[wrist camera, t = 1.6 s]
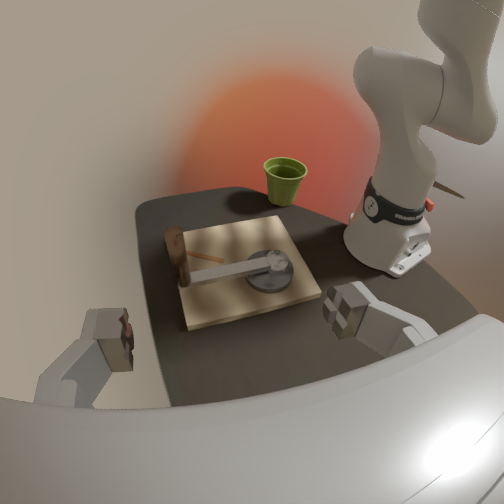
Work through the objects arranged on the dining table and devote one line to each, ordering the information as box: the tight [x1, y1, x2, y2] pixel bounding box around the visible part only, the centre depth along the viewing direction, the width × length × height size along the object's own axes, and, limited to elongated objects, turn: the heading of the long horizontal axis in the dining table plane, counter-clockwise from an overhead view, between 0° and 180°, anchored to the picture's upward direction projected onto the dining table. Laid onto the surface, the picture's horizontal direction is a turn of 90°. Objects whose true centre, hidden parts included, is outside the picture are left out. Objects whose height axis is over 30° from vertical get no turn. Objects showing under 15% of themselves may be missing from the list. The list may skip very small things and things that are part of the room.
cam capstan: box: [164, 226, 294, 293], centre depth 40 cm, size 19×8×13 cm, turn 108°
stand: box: [180, 216, 322, 331], centre depth 48 cm, size 22×20×2 cm
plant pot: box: [264, 157, 307, 207], centre depth 60 cm, size 9×9×9 cm
